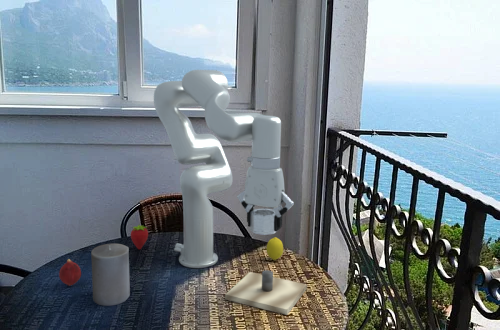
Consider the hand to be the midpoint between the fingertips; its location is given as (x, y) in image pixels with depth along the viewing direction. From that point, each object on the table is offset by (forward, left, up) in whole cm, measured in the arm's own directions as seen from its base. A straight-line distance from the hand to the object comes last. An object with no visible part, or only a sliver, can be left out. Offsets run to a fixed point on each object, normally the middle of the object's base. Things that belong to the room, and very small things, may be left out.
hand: (264, 227), depth 124 cm
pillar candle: (-36, -20, -20) cm, 46 cm away
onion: (-51, -20, -20) cm, 58 cm away
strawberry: (-51, +11, -20) cm, 56 cm away
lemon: (-6, +24, -20) cm, 32 cm away
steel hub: (0, 0, -1) cm, 1 cm away
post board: (+1, +1, -20) cm, 20 cm away
